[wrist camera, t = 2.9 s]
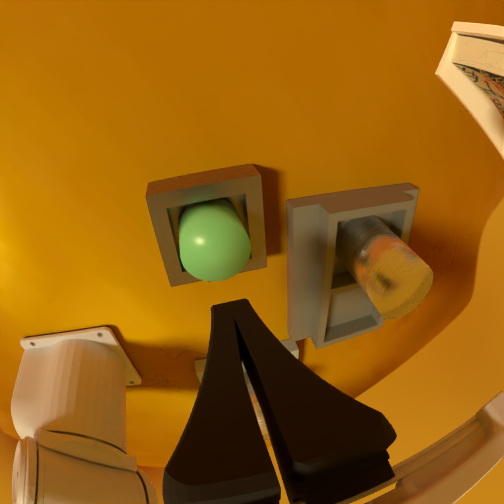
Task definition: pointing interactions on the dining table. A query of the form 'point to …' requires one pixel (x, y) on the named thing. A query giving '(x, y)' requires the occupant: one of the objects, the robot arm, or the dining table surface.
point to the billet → (257, 408)
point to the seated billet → (383, 266)
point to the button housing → (202, 189)
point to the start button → (213, 240)
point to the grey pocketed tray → (336, 260)
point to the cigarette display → (477, 75)
